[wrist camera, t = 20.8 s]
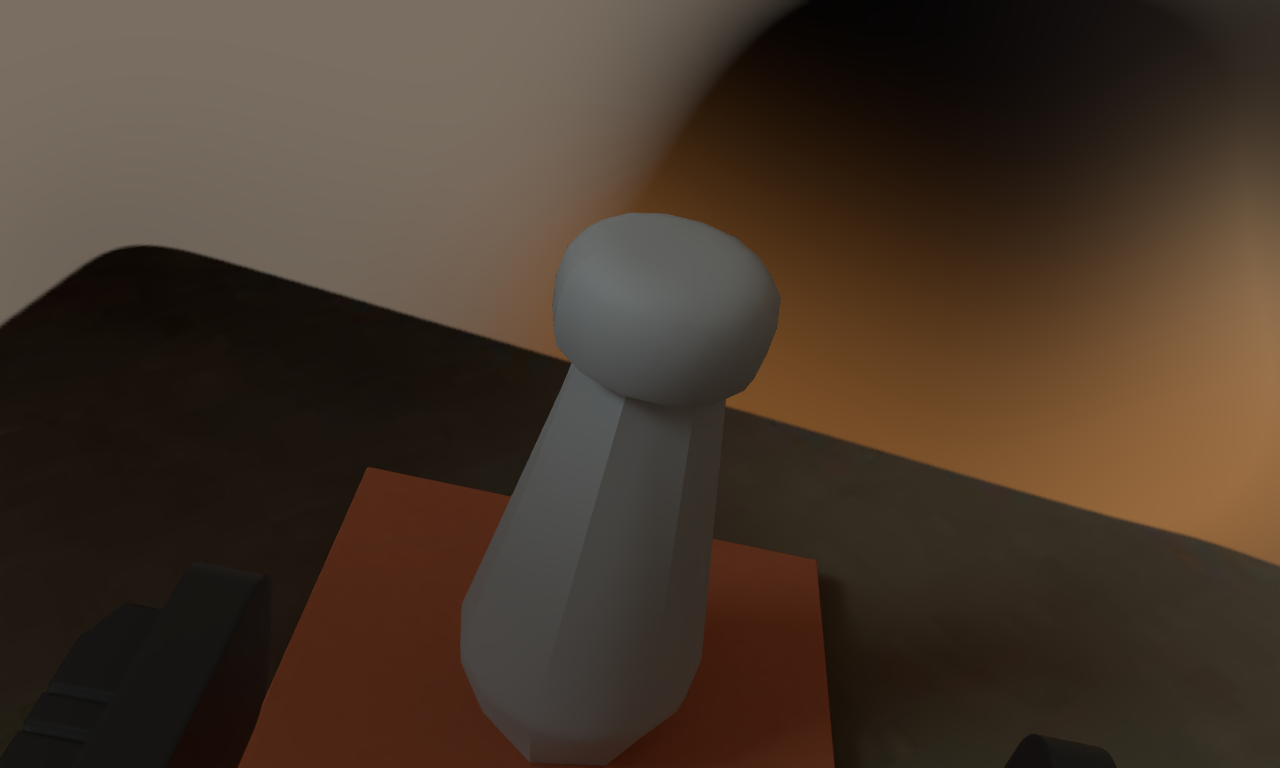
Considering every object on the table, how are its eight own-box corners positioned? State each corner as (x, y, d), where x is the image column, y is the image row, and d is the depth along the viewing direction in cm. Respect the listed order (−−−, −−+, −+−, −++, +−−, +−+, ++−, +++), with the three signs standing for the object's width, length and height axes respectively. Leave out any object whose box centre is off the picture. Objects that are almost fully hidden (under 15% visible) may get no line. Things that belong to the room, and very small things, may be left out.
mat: (173, 932, 22) (171, 905, 22) (365, 490, 34) (367, 465, 33) (844, 1054, 23) (859, 1031, 23) (808, 582, 35) (817, 559, 34)
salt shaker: (509, 582, 31) (595, 148, 23) (703, 662, 30) (854, 237, 23) (404, 739, 26) (472, 255, 19) (631, 841, 25) (794, 373, 18)
